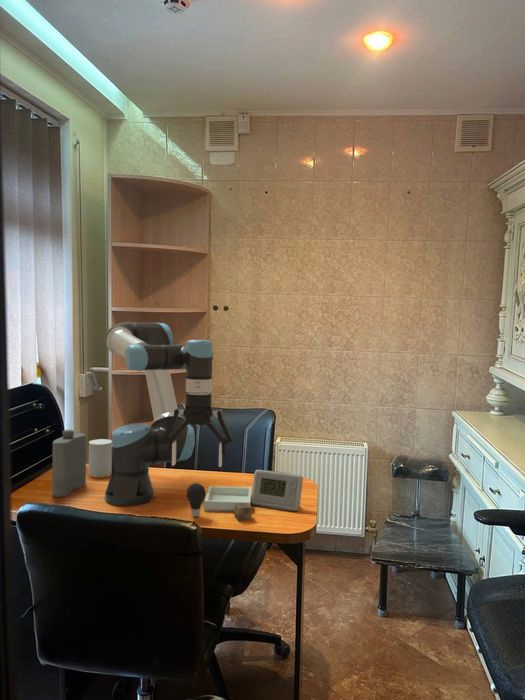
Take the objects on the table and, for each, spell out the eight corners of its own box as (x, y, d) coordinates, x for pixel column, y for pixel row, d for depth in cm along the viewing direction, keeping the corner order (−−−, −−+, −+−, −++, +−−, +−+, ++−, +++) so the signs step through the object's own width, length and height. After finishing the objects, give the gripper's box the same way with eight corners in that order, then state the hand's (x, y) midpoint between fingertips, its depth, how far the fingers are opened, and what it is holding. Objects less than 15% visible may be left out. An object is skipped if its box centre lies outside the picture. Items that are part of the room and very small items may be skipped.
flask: (73, 482, 181) (73, 425, 180) (88, 483, 180) (89, 426, 179) (46, 496, 167) (47, 434, 165) (62, 498, 165) (63, 436, 164)
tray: (204, 510, 158) (204, 501, 158) (208, 495, 172) (209, 486, 172) (250, 512, 158) (250, 502, 158) (251, 496, 172) (251, 487, 172)
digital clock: (247, 505, 165) (248, 472, 164) (261, 497, 173) (262, 465, 172) (293, 516, 157) (294, 481, 156) (306, 507, 164) (307, 474, 164)
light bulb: (206, 513, 156) (207, 481, 155) (202, 521, 150) (203, 487, 150) (188, 512, 157) (189, 480, 156) (183, 519, 151) (184, 486, 150)
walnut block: (238, 522, 151) (238, 508, 151) (234, 516, 155) (234, 503, 154) (251, 520, 152) (251, 507, 152) (247, 515, 156) (247, 502, 156)
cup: (106, 469, 197) (106, 438, 196) (115, 474, 191) (115, 442, 190) (84, 473, 192) (85, 440, 191) (93, 478, 186) (94, 445, 185)
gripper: (153, 393, 147) (151, 467, 149) (241, 396, 147) (239, 469, 149) (158, 390, 155) (157, 460, 156) (242, 392, 155) (240, 462, 156)
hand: (197, 465), depth 152 cm, fingers open, 13 cm apart
